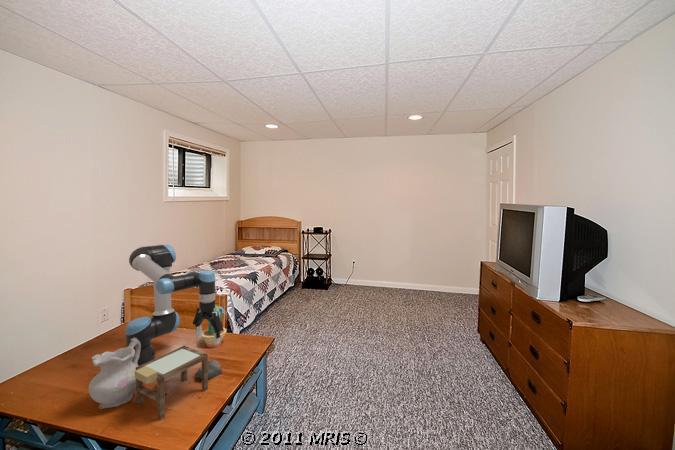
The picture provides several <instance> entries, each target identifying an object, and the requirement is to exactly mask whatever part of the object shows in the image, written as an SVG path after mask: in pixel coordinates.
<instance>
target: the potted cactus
mask: <svg viewBox="0 0 675 450" xmlns="http://www.w3.org/2000/svg"><path fill="white" fill-rule="evenodd" d="M217 311H218V312H219V318H220V321H221V322H222V319H223V316H225V315H226V311H225V309H224V308H223V306H219V305H217V304H215V308H214V312H217ZM212 318H213V317H212ZM206 320H207V319H206ZM207 324H208V327H207V328H206V329H204V330H202V337H201V338H202V339H203V341H204V342H205V344H206V345H205V346H206V347H208V348H216V347H219V346H220V345H222V341H223V340H224V338H225V335H226V334H227V328H225V327H223V330H222V331H220V343H219V344H217V345H214V332H215V330H214V328H213V326H212V324H211V322H210V321H208V320H207ZM220 329H221V328H220Z"/></svg>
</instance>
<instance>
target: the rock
mask: <svg viewBox="0 0 675 450" xmlns="http://www.w3.org/2000/svg"><path fill="white" fill-rule="evenodd" d="M221 367H222V366H221V363H220V361H218V360H217V359H216V360H215V359H211V360H209V361H208V380H210V379H212V378H213V379H214V378H215V377H218V376H220V375H221V374H222V373H223V370H222V368H221ZM194 376H195V377H196V379H201V380H202V365H201V367H199V368H198V370H197V371H196V372H195V373H194Z"/></svg>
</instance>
